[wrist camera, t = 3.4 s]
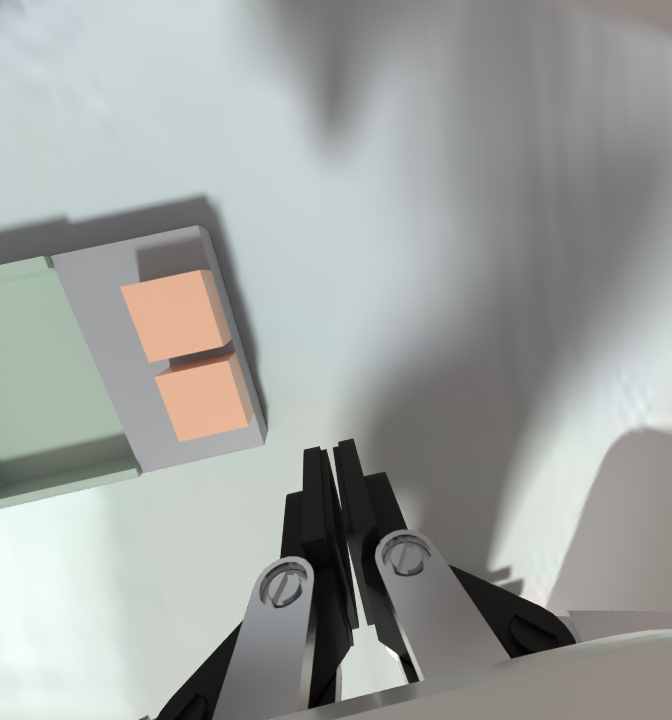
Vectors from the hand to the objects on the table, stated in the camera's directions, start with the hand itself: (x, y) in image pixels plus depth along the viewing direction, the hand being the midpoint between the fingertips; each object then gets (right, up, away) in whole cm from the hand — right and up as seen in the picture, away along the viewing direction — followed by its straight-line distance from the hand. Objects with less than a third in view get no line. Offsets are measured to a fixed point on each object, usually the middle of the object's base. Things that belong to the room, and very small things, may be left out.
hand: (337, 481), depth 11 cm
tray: (-24, +2, +15) cm, 28 cm away
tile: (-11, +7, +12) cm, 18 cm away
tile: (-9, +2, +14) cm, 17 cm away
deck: (-13, +5, +15) cm, 21 cm away
